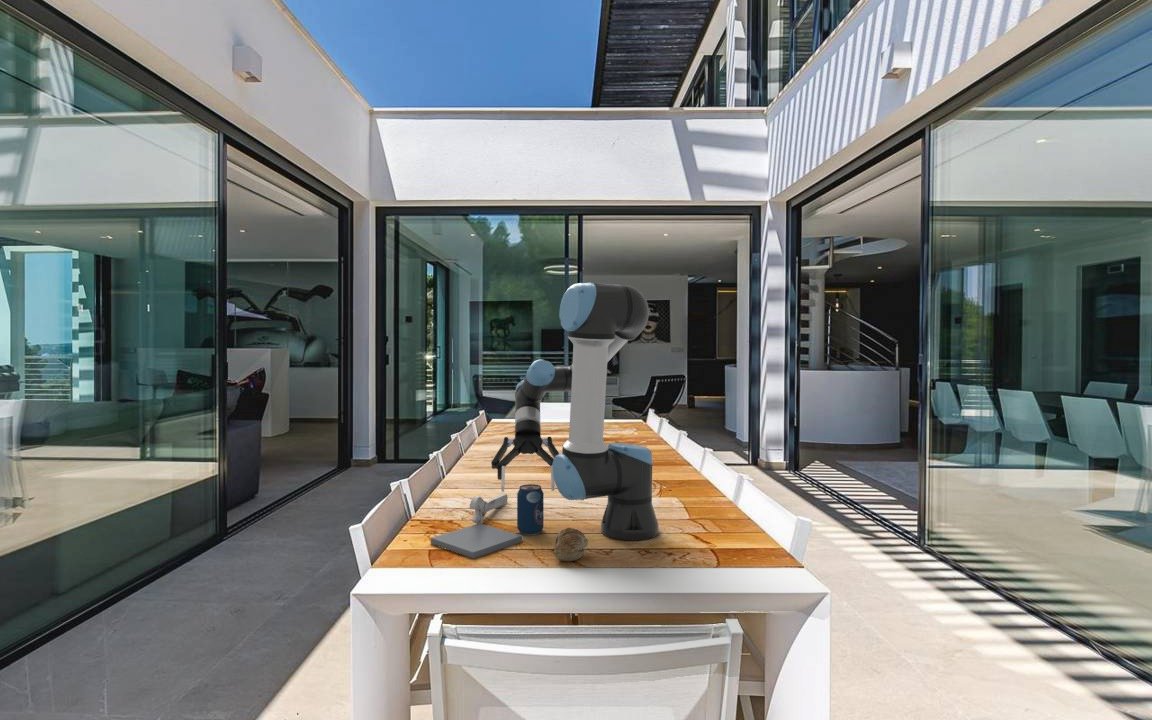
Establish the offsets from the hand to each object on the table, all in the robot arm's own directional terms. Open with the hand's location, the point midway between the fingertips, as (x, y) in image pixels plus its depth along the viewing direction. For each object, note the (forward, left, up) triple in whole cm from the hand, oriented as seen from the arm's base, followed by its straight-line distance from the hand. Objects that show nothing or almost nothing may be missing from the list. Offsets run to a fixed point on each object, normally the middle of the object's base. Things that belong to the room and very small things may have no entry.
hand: (527, 488), depth 167 cm
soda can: (-4, +3, -10) cm, 12 cm away
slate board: (0, +18, -10) cm, 21 cm away
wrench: (+16, -1, -11) cm, 19 cm away
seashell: (-25, +11, -10) cm, 29 cm away
